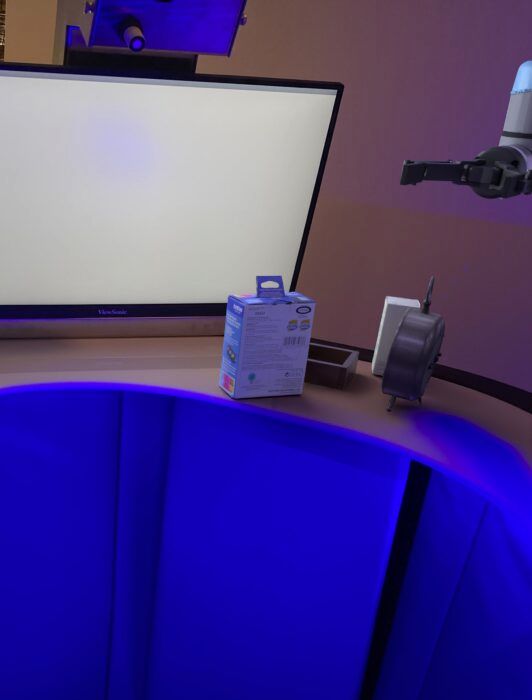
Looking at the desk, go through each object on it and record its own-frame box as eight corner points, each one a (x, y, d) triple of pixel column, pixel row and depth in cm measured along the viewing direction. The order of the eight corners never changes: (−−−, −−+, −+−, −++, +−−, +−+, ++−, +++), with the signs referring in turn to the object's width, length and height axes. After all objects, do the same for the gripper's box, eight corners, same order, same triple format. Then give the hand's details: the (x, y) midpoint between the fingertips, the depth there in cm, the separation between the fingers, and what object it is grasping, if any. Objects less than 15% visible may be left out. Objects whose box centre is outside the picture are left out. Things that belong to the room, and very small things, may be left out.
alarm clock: (392, 387, 112) (418, 265, 105) (434, 396, 110) (464, 272, 103) (372, 412, 104) (399, 281, 97) (418, 423, 101) (449, 289, 94)
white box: (404, 379, 115) (420, 307, 111) (371, 375, 116) (385, 303, 112) (403, 368, 120) (419, 298, 116) (371, 363, 121) (385, 294, 117)
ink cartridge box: (283, 380, 113) (300, 272, 107) (304, 395, 108) (323, 283, 102) (215, 384, 110) (228, 274, 104) (233, 400, 105) (249, 285, 99)
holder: (355, 372, 117) (359, 351, 116) (343, 389, 111) (347, 367, 109) (297, 360, 121) (300, 340, 119) (281, 377, 114) (284, 355, 113)
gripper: (583, 208, 124) (544, 223, 109) (415, 186, 138) (360, 197, 123) (598, 154, 121) (561, 162, 106) (425, 137, 135) (370, 142, 120)
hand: (453, 181), depth 114 cm, fingers open, 13 cm apart
